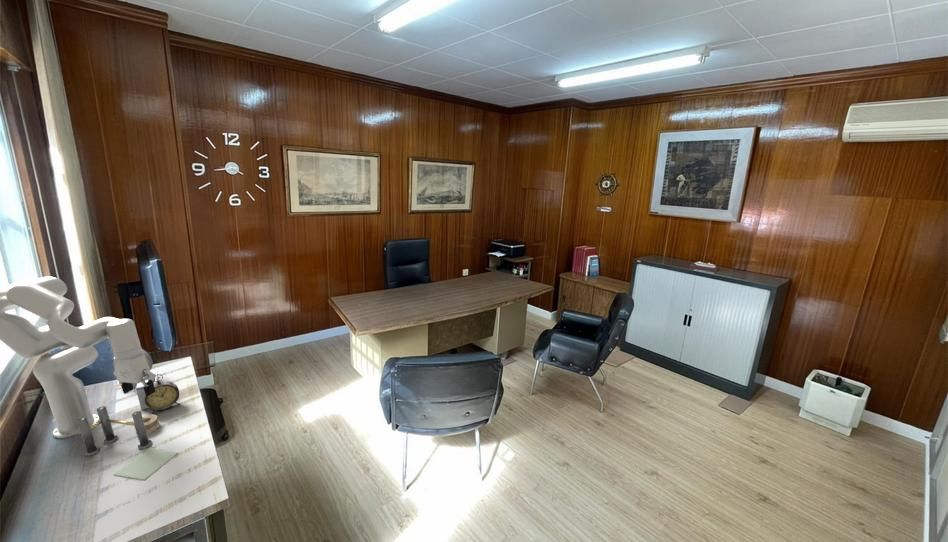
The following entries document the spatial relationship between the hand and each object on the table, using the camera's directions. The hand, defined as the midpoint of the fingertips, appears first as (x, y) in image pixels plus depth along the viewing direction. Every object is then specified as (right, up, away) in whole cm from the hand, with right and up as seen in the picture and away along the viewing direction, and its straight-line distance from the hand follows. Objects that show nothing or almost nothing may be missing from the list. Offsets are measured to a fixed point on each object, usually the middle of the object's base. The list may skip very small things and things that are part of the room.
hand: (139, 392), depth 138 cm
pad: (+13, -21, -11) cm, 27 cm away
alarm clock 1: (-32, -7, +34) cm, 47 cm away
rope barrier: (-3, -19, -5) cm, 20 cm away
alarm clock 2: (-4, -12, +17) cm, 21 cm away
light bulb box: (-14, -11, +21) cm, 28 cm away
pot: (-1, -16, +5) cm, 16 cm away
